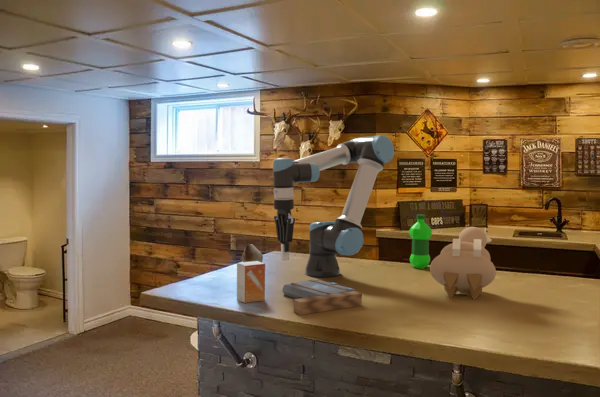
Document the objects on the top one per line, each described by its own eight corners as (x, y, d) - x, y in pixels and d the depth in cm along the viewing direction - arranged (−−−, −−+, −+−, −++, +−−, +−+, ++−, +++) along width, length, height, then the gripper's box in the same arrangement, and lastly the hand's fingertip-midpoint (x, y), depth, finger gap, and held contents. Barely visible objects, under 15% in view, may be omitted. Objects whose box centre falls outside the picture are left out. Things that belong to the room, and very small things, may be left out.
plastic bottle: (433, 269, 227) (434, 215, 226) (410, 269, 227) (411, 215, 226) (428, 265, 237) (429, 214, 236) (406, 265, 237) (407, 213, 236)
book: (282, 296, 177) (282, 282, 177) (316, 289, 188) (316, 276, 188) (321, 308, 161) (321, 293, 161) (356, 300, 172) (356, 286, 172)
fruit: (245, 265, 233) (245, 240, 232) (264, 266, 232) (264, 241, 231) (240, 270, 223) (240, 243, 222) (260, 270, 222) (260, 244, 221)
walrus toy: (497, 205, 172) (431, 204, 180) (498, 275, 156) (425, 270, 163) (493, 252, 194) (434, 249, 202) (494, 317, 178) (430, 311, 185)
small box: (244, 303, 165) (244, 265, 165) (236, 299, 171) (236, 262, 170) (265, 300, 170) (265, 263, 169) (256, 296, 175) (256, 260, 175)
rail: (354, 302, 168) (354, 290, 168) (361, 305, 164) (361, 293, 164) (293, 311, 156) (293, 299, 156) (299, 314, 152) (299, 302, 152)
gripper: (267, 198, 190) (269, 258, 191) (283, 200, 179) (284, 264, 180) (284, 197, 194) (285, 256, 195) (300, 199, 182) (302, 261, 184)
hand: (285, 260), depth 188 cm, fingers closed
